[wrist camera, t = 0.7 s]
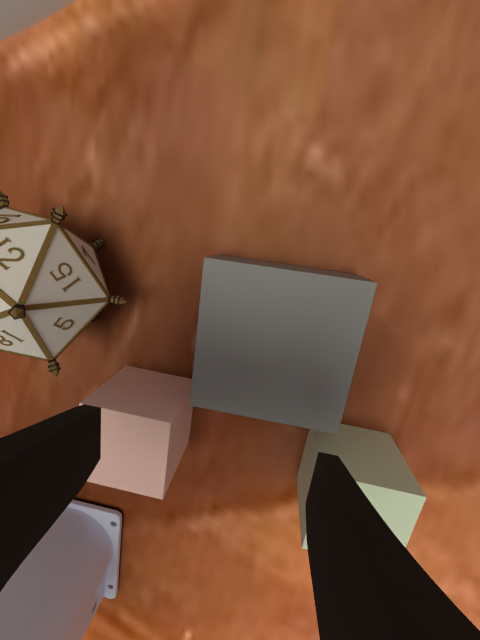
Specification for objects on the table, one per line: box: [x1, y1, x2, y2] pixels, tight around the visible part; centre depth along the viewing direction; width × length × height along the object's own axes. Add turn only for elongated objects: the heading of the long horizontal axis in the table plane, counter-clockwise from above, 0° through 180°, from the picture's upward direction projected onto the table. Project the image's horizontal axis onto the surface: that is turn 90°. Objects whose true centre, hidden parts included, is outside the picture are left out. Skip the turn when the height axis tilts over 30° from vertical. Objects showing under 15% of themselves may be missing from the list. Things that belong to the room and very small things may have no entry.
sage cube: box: [297, 424, 426, 550], centre depth 17 cm, size 5×5×5 cm
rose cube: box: [79, 365, 193, 500], centre depth 18 cm, size 5×5×5 cm
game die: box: [0, 191, 127, 377], centre depth 15 cm, size 9×8×10 cm
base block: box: [190, 254, 377, 434], centre depth 16 cm, size 8×8×4 cm
